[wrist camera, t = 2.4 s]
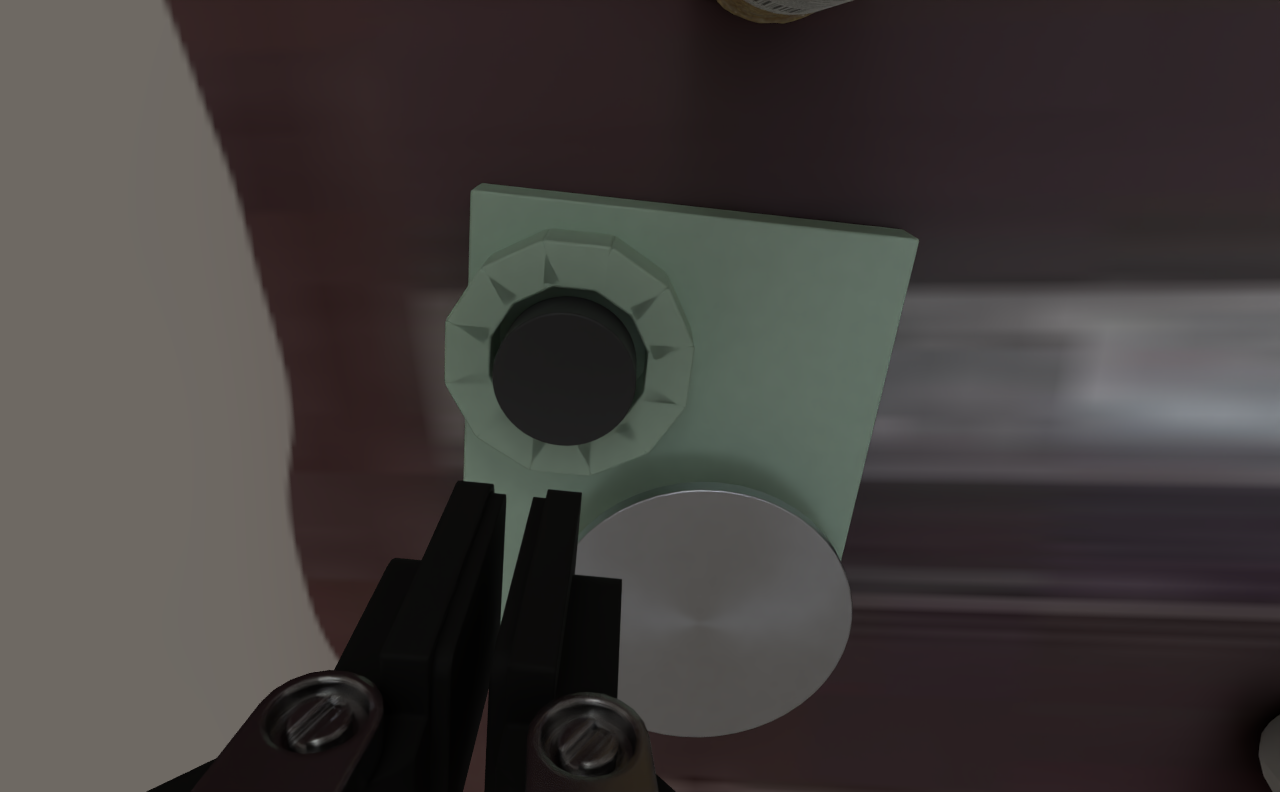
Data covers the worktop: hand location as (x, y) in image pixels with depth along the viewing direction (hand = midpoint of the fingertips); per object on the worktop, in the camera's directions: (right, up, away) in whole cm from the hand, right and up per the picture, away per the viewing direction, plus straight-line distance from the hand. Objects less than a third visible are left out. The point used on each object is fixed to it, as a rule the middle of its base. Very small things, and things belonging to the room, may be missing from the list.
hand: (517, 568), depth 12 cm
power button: (0, +4, +9) cm, 9 cm away
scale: (+3, +1, +13) cm, 13 cm away
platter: (+4, -4, +11) cm, 13 cm away
